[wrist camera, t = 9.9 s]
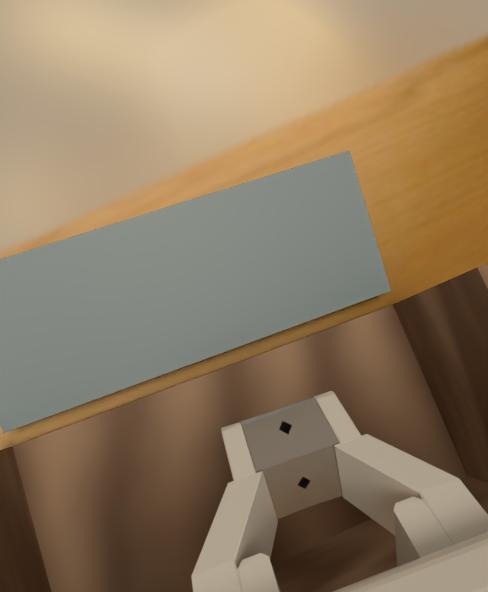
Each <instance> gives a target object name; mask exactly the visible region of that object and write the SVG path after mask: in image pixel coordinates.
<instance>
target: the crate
mask: <svg viewBox="0 0 488 592" xmlns="http://www.w3.org/2000/svg"><path fill="white" fill-rule="evenodd" d="M329 391H333V392H334V393H335V394H336V396H337V398H338V399H339V401H340V402H341V404H342V405H343V407H344V409H345V410H346V412H347V413H348V415H349V417H350V418H351V420H352V421H353V423H354V424H355V426H356V428H357V429H358V431H359V432H360V434H361V436H362V435H365V434H368V435H370V436H373V437H375V438H377V439H379V440H381V441H383V442H385V443H387V444H389V445H391V446H393V447H395V448H397V449H399V450H401V451H404V452H406V453H408V454H410V455H412V456H414V457H416V458H418V459H420V460H422V461H424V462H426V463H428V464H430V465H432V466H434V467H437V468H439V469H441V470H443V471H445V472H447V473H449V474H451V475H453V476H455V477H457V478H459V479H460V480H461V482H462V483H463V484H464V485H465V487H466V488H467V489H468V490H469V492H470V493H471V494H472V495H473V497H474V498H475V499H476V501H477V502H478V503H479V504H480V506H481V507H482V508H483V509H484V511H485V512H486V513H487V514H488V264H485V265H483V266H480V267H477V268H475V269H473V270H471V271H468V272H466V273H464V274H461V275H459V276H457V277H455V278H452V279H450V280H448V281H446V282H443V283H441V284H439V285H437V286H434V287H432V288H430V289H428V290H425V291H423V292H421V293H418V294H416V295H414V296H412V297H409V298H407V299H405V300H403V301H400V302H398V303H396V304H394V305H391V306H388V307H386V308H383V309H380V310H378V311H375V312H372V313H370V314H367V315H364V316H361V317H359V318H356V319H353V320H351V321H348V322H345V323H343V324H340V325H337V326H335V327H332V328H329V329H327V330H324V331H321V332H319V333H316V334H313V335H311V336H308V337H305V338H302V339H300V340H297V341H294V342H292V343H289V344H286V345H284V346H281V347H278V348H276V349H273V350H270V351H268V352H265V353H262V354H260V355H257V356H254V357H252V358H249V359H246V360H243V361H241V362H238V363H235V364H233V365H230V366H227V367H225V368H222V369H219V370H217V371H214V372H211V373H209V374H206V375H203V376H201V377H198V378H195V379H193V380H190V381H187V382H184V383H182V384H179V385H176V386H174V387H171V388H168V389H166V390H163V391H160V392H158V393H155V394H152V395H150V396H147V397H144V398H142V399H139V400H136V401H134V402H131V403H128V404H125V405H123V406H120V407H117V408H115V409H112V410H109V411H107V412H104V413H101V414H99V415H96V416H93V417H91V418H88V419H85V420H83V421H80V422H77V423H75V424H72V425H69V426H67V427H64V428H61V429H58V430H56V431H53V432H50V433H48V434H45V435H42V436H40V437H37V438H34V439H32V440H29V441H26V442H24V443H21V444H18V445H16V446H13V447H10V448H6V449H3V450H0V592H193V586H192V577H191V576H192V574H193V571H194V568H195V566H196V563H197V561H198V558H199V556H200V553H201V551H202V548H203V545H204V543H205V540H206V538H207V535H208V533H209V530H210V528H211V525H212V522H213V520H214V517H215V515H216V512H217V510H218V507H219V504H220V502H221V499H222V497H223V494H224V492H225V489H226V487H227V484H228V483H229V482H232V481H233V476H232V472H231V468H230V464H229V460H228V456H227V452H226V448H225V444H224V440H223V436H222V430H221V428H222V427H226V426H229V425H232V424H235V423H239V422H240V423H241V421H244V420H247V419H250V418H253V417H256V416H260V415H263V414H266V413H269V412H272V411H275V410H277V409H280V408H283V407H286V406H289V405H292V404H295V403H297V402H300V401H303V400H306V399H309V398H312V397H314V396H317V395H320V394H323V393H326V392H329ZM241 426H242V424H241ZM242 429H243V428H242ZM243 432H244V431H243ZM244 435H245V434H244ZM277 520H278V524H277V529H276V534H275V538H274V543H273V548H272V553H271V558H270V561H271V564H272V567H273V570H274V573H275V576H276V579H277V582H278V585H279V588H280V590H281V592H333V591H335V590H338V589H341V588H343V587H346V586H348V585H351V584H354V583H356V582H359V581H361V580H364V579H367V578H369V577H372V576H374V575H377V574H379V573H382V572H385V571H387V570H390V569H392V568H395V567H397V554H396V539H395V535H394V534H392V533H391V532H389V531H388V530H387V529H385V528H384V527H383V526H381V525H380V524H379V523H377V522H376V521H375V520H373V519H372V518H370V517H369V516H368V515H366V514H365V513H364V512H362V511H361V510H360V509H358V508H357V507H355V506H354V505H353V504H351V503H350V502H349V501H347V500H346V499H345V498H343V496H340V497H337V498H334V499H331V500H328V501H325V502H322V503H319V504H316V505H313V506H309V507H307V508H304V509H302V510H299V511H297V512H294V513H292V514H289V515H287V516H284V517H282V518H279V519H277Z"/></svg>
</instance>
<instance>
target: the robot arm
mask: <svg viewBox="0 0 488 592" xmlns="http://www.w3.org/2000/svg"><path fill="white" fill-rule="evenodd" d="M241 424H242V426H241ZM242 428H243V429H242ZM221 430H222V436H223V440H224V444H225V448H226V452H227V456H228V460H229V464H230V468H231V472H232V476H233V481H232V482H229V483H228V484H227V487H226V489H225V492H224V494H223V497H222V499H221V502H220V504H219V507H218V510H217V512H216V515H215V517H214V520H213V522H212V525H211V528H210V530H209V533H208V535H207V538H206V540H205V543H204V545H203V548H202V551H201V553H200V556H199V558H198V561H197V563H196V566H195V568H194V571H193V574H192V576H191V577H192V586H193V592H281V590H280V588H279V585H278V582H277V579H276V576H275V573H274V570H273V567H272V564H271V561H270V558H271V553H272V548H273V543H274V538H275V534H276V529H277V524H278V520H277V519H279V518H282V517H284V516H287V515H289V514H292V513H294V512H297V511H299V510H302V509H304V508H307V507H309V506H313V505H316V504H319V503H322V502H325V501H328V500H331V499H334V498H337V497H340V496H343V498H345V499H346V500H347V501H349V502H350V503H351V504H353V505H354V506H355V507H357V508H358V509H360V510H361V511H362V512H364V513H365V514H366V515H368V516H369V517H370V518H372V519H373V520H375V521H376V522H377V523H379V524H380V525H381V526H383V527H384V528H385V529H387V530H388V531H389V532H391V533H392V534H394V535H395V539H396V554H397V567H395V568H392V569H390V570H387V571H385V572H382V573H379V574H377V575H374V576H372V577H369V578H367V579H364V580H361V581H359V582H356V583H354V584H351V585H348V586H346V587H343V588H341V589H338V590H335V591H333V592H488V514H487V513H486V512H485V511H484V509H483V508H482V507H481V506H480V504H479V503H478V502H477V501H476V499H475V498H474V497H473V495H472V494H471V493H470V492H469V490H468V489H467V488H466V487H465V485H464V484H463V483H462V482H461V480H460V479H459V478H457V477H455V476H453V475H451V474H449V473H447V472H445V471H443V470H441V469H439V468H437V467H434V466H432V465H430V464H428V463H426V462H424V461H422V460H420V459H418V458H416V457H414V456H412V455H410V454H408V453H406V452H404V451H401V450H399V449H397V448H395V447H393V446H391V445H389V444H387V443H385V442H383V441H381V440H379V439H377V438H375V437H373V436H370V435H368V434H365V435H362V436H361V434H360V432H359V431H358V429H357V428H356V426H355V424H354V423H353V421H352V420H351V418H350V417H349V415H348V413H347V412H346V410H345V409H344V407H343V405H342V404H341V402H340V401H339V399H338V398H337V396H336V394H335V393H334V392H333V391H329V392H326V393H323V394H320V395H317V396H314V397H312V398H309V399H306V400H303V401H300V402H297V403H295V404H292V405H289V406H286V407H283V408H280V409H277V410H275V411H272V412H269V413H266V414H263V415H260V416H256V417H253V418H250V419H247V420H244V421H241V423H240V422H239V423H235V424H232V425H229V426H226V427H222V428H221ZM243 431H244V432H243ZM244 434H245V435H244Z"/></svg>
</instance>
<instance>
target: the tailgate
mask: <svg viewBox="0 0 488 592" xmlns="http://www.w3.org/2000/svg"><path fill="white" fill-rule="evenodd" d="M389 291H391V288H390V285H389V282H388V278H387V275H386V272H385V268H384V265H383V261H382V258H381V255H380V251H379V248H378V245H377V241H376V238H375V235H374V231H373V228H372V224H371V221H370V218H369V214H368V211H367V208H366V204H365V201H364V198H363V194H362V191H361V187H360V184H359V181H358V177H357V174H356V171H355V167H354V164H353V161H352V157H351V154H350V151H346V152H343V153H340V154H336V155H333V156H330V157H327V158H323V159H320V160H317V161H314V162H311V163H307V164H304V165H301V166H298V167H295V168H291V169H288V170H285V171H282V172H279V173H275V174H272V175H269V176H266V177H263V178H259V179H256V180H253V181H250V182H246V183H243V184H240V185H237V186H234V187H230V188H227V189H224V190H221V191H218V192H214V193H211V194H208V195H205V196H202V197H198V198H195V199H192V200H189V201H185V202H182V203H179V204H176V205H173V206H169V207H166V208H163V209H160V210H157V211H153V212H150V213H147V214H144V215H141V216H137V217H134V218H131V219H128V220H124V221H121V222H118V223H115V224H112V225H108V226H105V227H102V228H99V229H96V230H92V231H89V232H86V233H83V234H80V235H76V236H73V237H70V238H67V239H64V240H60V241H57V242H54V243H51V244H47V245H44V246H41V247H38V248H35V249H31V250H28V251H25V252H22V253H19V254H15V255H12V256H9V257H6V258H3V259H0V425H1V427H2V430H3V432H4V433H5V432H8V431H11V430H14V429H16V428H19V427H22V426H24V425H27V424H30V423H33V422H35V421H38V420H41V419H43V418H46V417H49V416H52V415H54V414H57V413H60V412H63V411H65V410H68V409H71V408H73V407H76V406H79V405H82V404H84V403H87V402H90V401H92V400H95V399H98V398H101V397H103V396H106V395H109V394H112V393H114V392H117V391H120V390H122V389H125V388H128V387H131V386H133V385H136V384H139V383H141V382H144V381H147V380H150V379H152V378H155V377H158V376H160V375H163V374H166V373H169V372H171V371H174V370H177V369H180V368H182V367H185V366H188V365H190V364H193V363H196V362H199V361H201V360H204V359H207V358H209V357H212V356H215V355H218V354H220V353H223V352H226V351H229V350H231V349H234V348H237V347H239V346H242V345H245V344H248V343H250V342H253V341H256V340H258V339H261V338H264V337H267V336H269V335H272V334H275V333H277V332H280V331H283V330H286V329H288V328H291V327H294V326H297V325H299V324H302V323H305V322H307V321H310V320H313V319H316V318H318V317H321V316H324V315H326V314H329V313H332V312H335V311H337V310H340V309H343V308H345V307H348V306H351V305H354V304H356V303H359V302H362V301H365V300H367V299H370V298H373V297H375V296H378V295H381V294H384V293H386V292H389Z"/></svg>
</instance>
